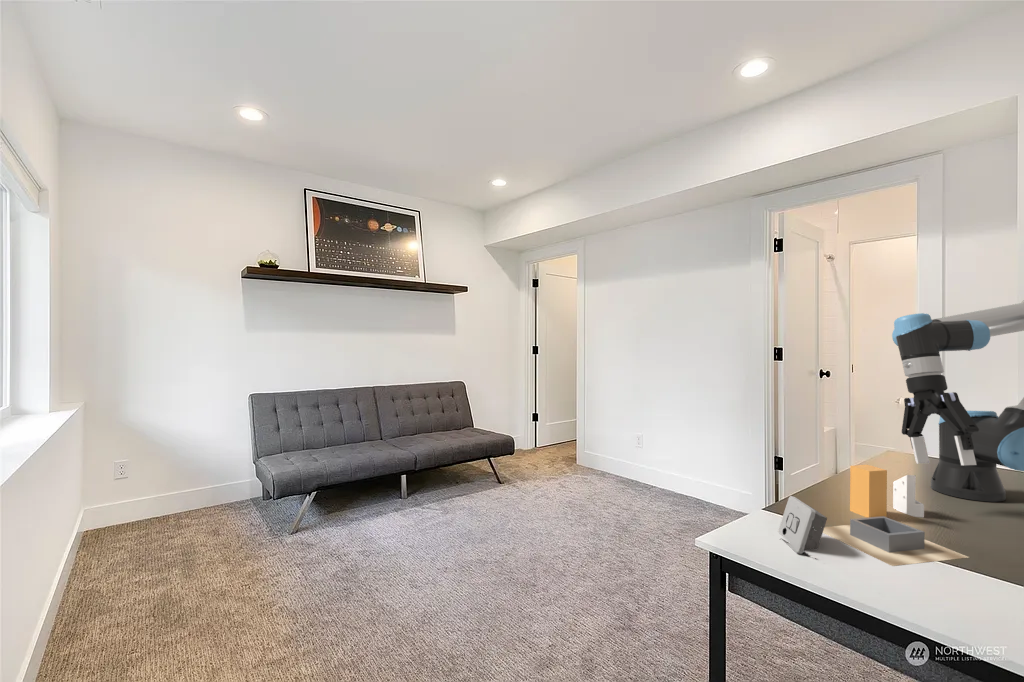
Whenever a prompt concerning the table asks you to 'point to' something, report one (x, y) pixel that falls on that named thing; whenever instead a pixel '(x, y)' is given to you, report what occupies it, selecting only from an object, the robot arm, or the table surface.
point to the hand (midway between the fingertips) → (944, 464)
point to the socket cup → (887, 534)
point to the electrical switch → (801, 525)
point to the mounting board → (894, 558)
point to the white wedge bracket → (907, 496)
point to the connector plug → (868, 491)
